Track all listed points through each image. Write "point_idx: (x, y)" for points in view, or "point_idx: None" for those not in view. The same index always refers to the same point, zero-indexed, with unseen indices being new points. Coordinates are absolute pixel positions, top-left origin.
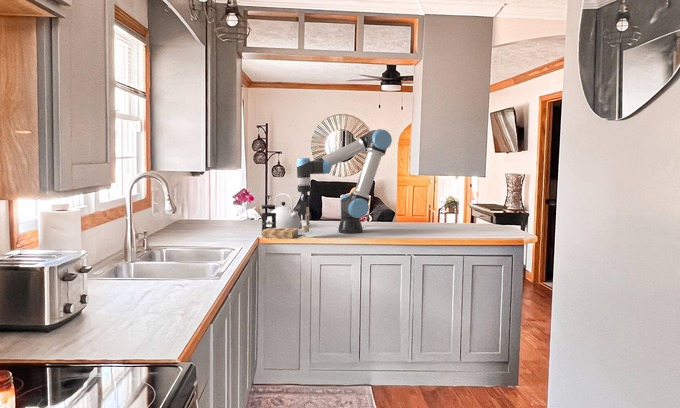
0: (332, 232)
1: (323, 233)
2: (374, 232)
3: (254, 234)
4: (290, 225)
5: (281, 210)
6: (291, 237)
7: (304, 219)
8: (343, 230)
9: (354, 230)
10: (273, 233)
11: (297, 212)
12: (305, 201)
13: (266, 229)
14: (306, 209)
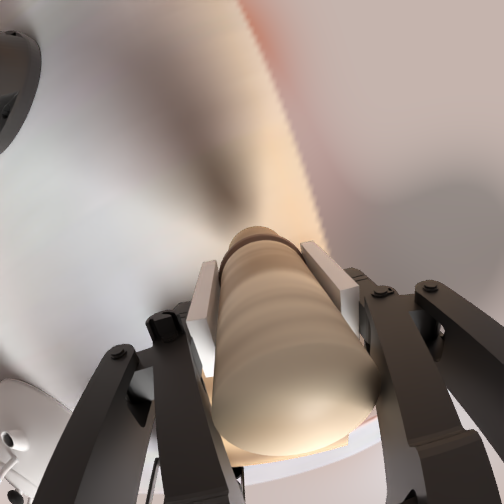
0: (21, 172)
1: (62, 204)
2: (9, 6)
3: (250, 471)
4: (56, 418)
5: None
6: None
7: (358, 272)
8: (26, 90)
9: (28, 38)
10: None
11: (1, 434)
12: (469, 459)
13: (287, 456)
14: (353, 335)
